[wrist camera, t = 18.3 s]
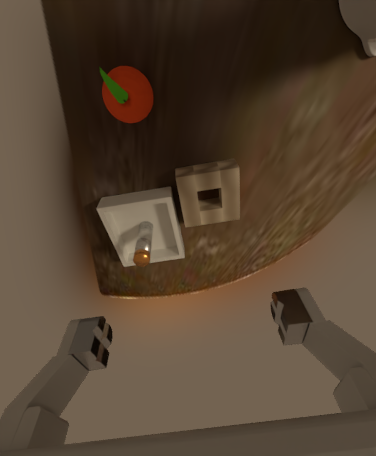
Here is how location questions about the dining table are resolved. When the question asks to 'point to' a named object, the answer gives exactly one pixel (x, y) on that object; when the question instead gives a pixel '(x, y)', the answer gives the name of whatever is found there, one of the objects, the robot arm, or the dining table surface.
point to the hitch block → (205, 180)
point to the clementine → (127, 94)
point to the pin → (143, 244)
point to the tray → (138, 212)
